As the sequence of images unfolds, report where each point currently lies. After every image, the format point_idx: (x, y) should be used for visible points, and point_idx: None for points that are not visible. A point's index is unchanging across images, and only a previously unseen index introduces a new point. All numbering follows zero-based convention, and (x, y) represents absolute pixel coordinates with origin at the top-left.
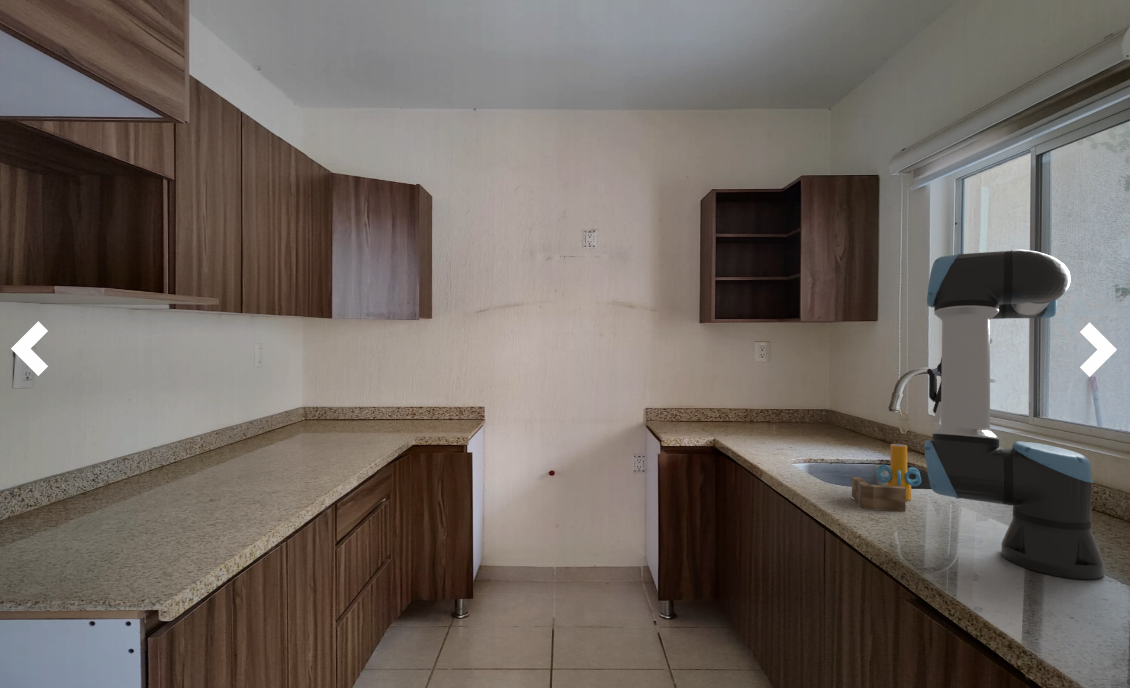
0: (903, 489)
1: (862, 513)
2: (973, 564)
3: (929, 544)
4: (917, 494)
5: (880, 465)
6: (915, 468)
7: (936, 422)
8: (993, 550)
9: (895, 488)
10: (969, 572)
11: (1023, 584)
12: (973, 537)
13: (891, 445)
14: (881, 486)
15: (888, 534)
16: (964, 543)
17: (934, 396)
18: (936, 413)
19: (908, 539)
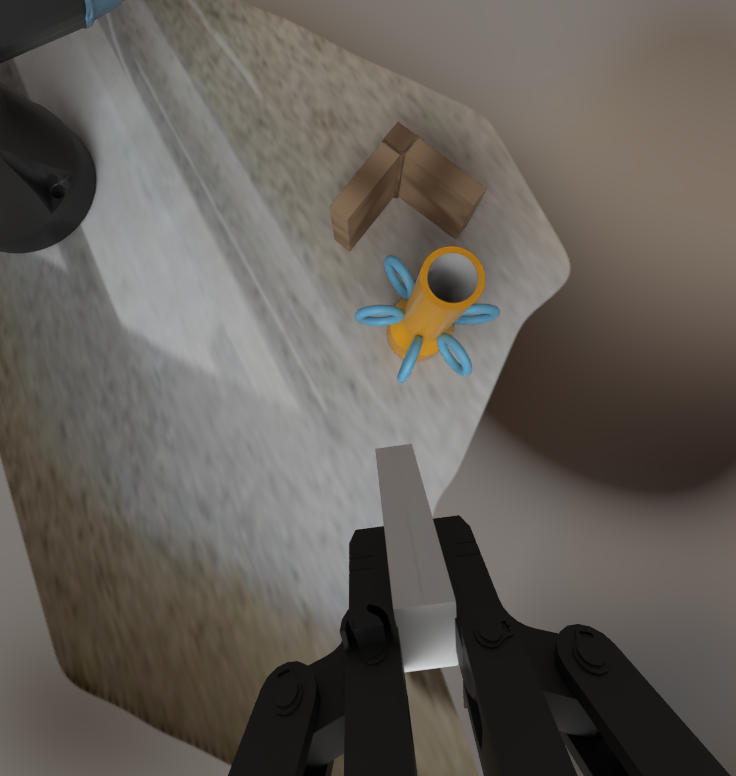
0: (333, 204)
1: (370, 138)
2: (90, 58)
3: (184, 83)
4: (417, 417)
5: (493, 305)
6: (406, 362)
7: (390, 448)
8: (107, 161)
9: (346, 187)
10: None
11: None
12: (164, 201)
13: (467, 251)
14: (373, 165)
15: (255, 64)
16: (154, 150)
17: (571, 694)
18: (417, 491)
19: (219, 73)
